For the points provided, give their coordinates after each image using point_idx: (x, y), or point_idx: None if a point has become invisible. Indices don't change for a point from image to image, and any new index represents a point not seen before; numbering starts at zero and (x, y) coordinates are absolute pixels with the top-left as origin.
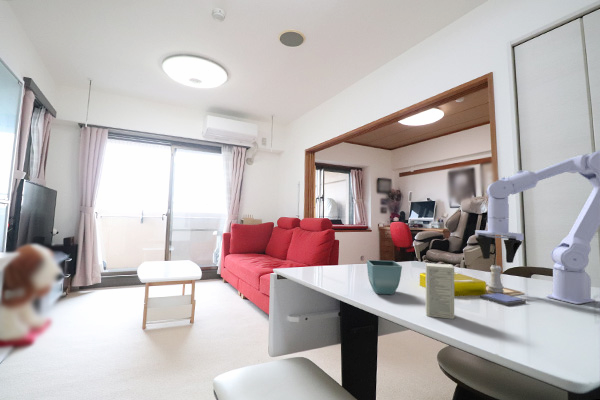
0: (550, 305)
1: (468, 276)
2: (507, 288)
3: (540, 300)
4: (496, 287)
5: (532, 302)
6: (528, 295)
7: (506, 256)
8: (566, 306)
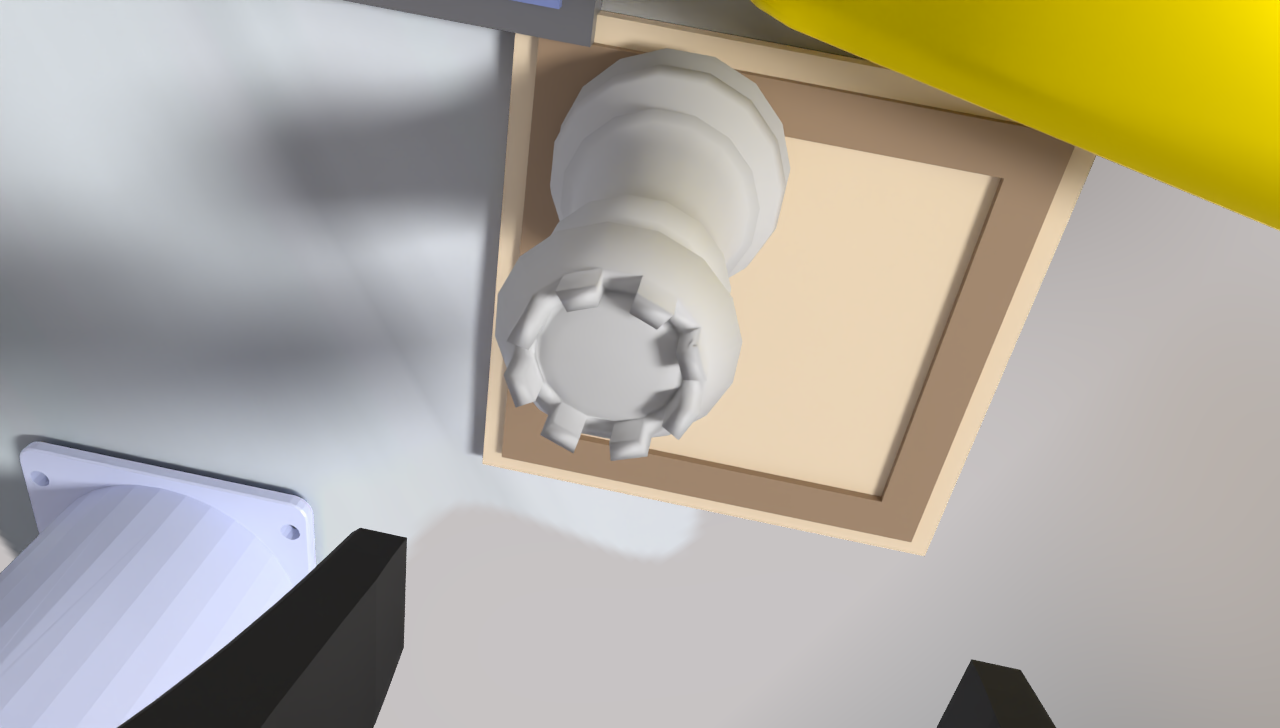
0: (65, 168)
1: (1168, 126)
2: (673, 482)
3: (244, 307)
4: (604, 92)
5: (206, 113)
6: (430, 426)
7: (324, 628)
8: (9, 286)
